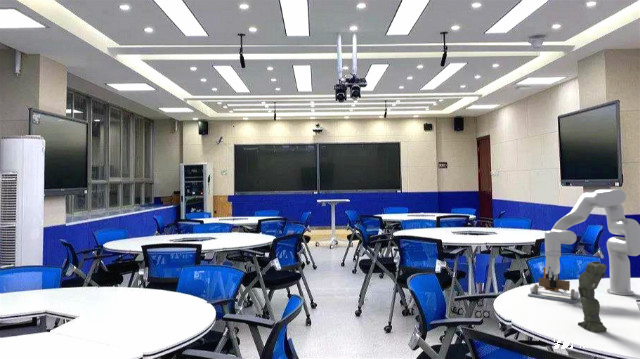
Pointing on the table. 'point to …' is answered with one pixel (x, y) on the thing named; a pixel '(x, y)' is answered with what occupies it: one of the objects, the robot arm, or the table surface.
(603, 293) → the table surface
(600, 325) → the mechanical leg
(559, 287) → the wood plank
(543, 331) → the table surface
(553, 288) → the multimeter
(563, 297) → the pipe run
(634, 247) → the robot arm
